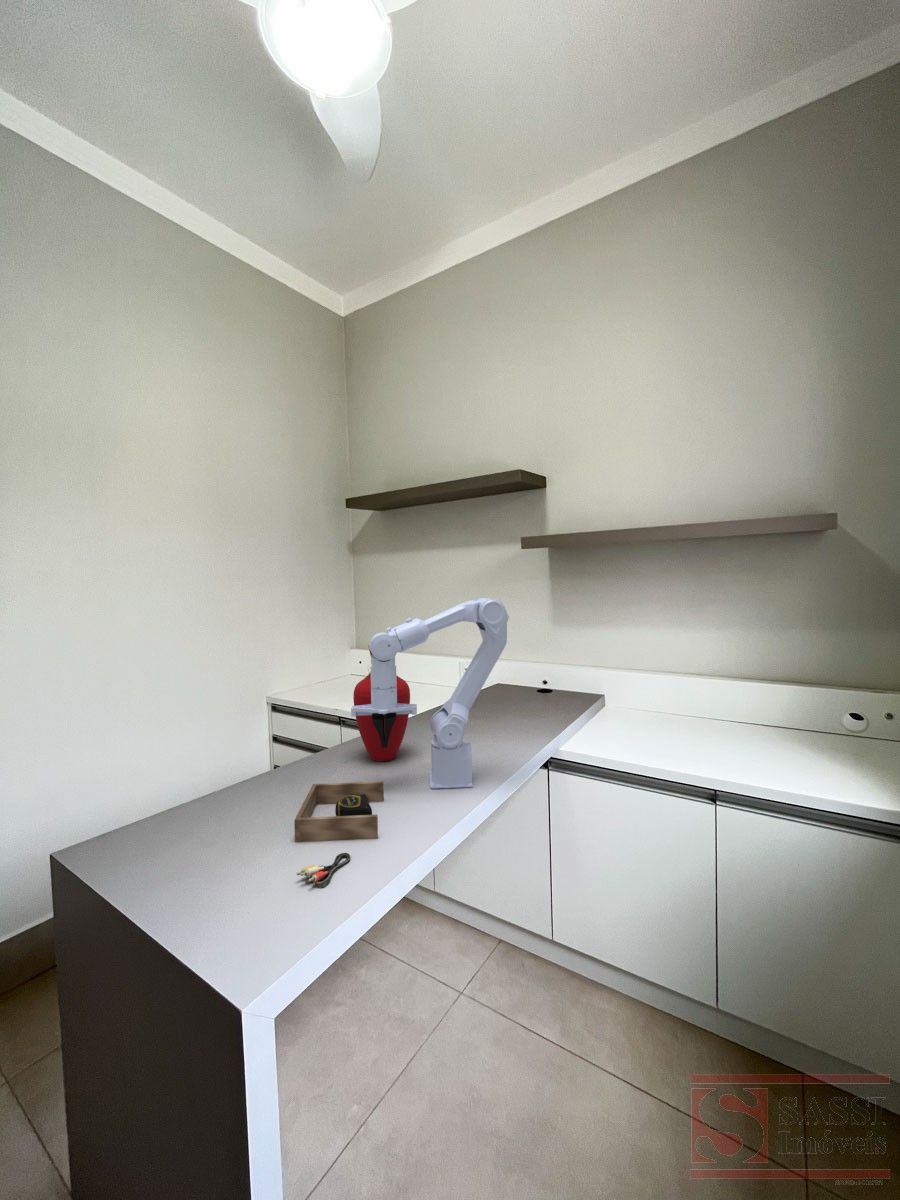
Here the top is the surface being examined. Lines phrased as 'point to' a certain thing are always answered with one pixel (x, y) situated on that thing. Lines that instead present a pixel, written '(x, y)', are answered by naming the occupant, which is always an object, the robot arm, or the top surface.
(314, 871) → the composite cable
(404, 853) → the top surface
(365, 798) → the tape measure
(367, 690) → the vase
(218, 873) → the top surface
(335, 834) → the u-shaped wooden frame
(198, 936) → the top surface
